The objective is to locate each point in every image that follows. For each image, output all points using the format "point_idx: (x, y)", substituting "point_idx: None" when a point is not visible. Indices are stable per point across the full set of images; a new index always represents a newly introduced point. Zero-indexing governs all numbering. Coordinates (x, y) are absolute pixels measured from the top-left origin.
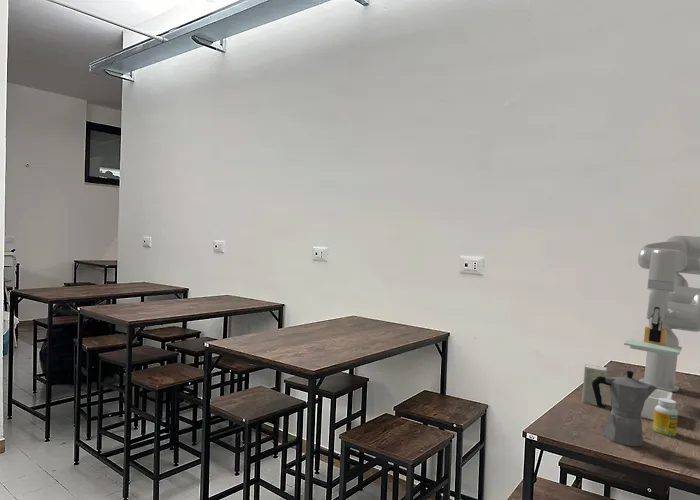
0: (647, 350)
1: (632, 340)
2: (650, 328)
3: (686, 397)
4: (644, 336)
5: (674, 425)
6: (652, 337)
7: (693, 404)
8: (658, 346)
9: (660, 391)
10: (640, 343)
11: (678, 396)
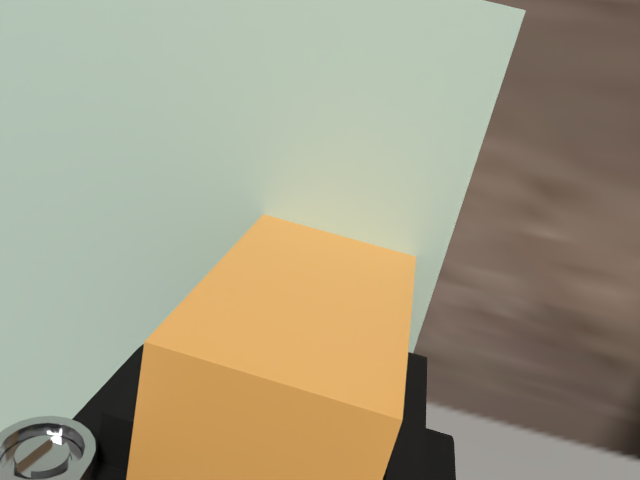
0: None
1: (236, 28)
2: (136, 437)
3: (588, 409)
4: (232, 250)
5: None
6: (133, 359)
7: (438, 402)
8: (49, 352)
9: None
10: (45, 132)
11: (583, 369)
